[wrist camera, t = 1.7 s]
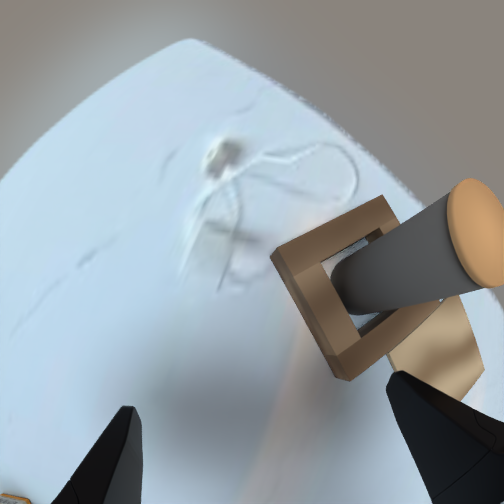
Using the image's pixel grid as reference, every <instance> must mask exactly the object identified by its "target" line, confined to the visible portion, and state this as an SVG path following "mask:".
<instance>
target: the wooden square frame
mask: <svg viewBox="0 0 504 504" xmlns="http://www.w3.org/2000/svg"><path fill="white" fill-rule="evenodd" d="M399 225H400V223H399V221H398V219H397V218H396V216H395V214H394V212H393V211H392V209H391V208H390V206H389V204H388V203H387V201H386V199H385V198H384V196H383V195H380V196H378V197H376V198H374V199H372V200H370V201H368V202H366V203H365V204H363V205H361V206H359V207H357V208H355V209H353V210H351V211H349V212H347V213H345V214H343V215H341V216H339V217H337V218H335V219H333V220H331V221H329V222H327V223H325V224H323V225H321V226H319V227H317V228H315V229H313V230H311V231H309V232H307V233H305V234H303V235H301V236H299V237H297V238H295V239H293V240H291V241H289V242H287V243H285V244H283V245H281V246H279V247H277V248H276V250H275V251H274V252H273V253H272V255H271V256H270V258H271V260H272V262H273V264H274V266H275V267H276V269H277V271H278V273H279V275H280V276H281V278H282V280H283V282H284V284H285V285H286V287H287V289H288V291H289V293H290V294H291V296H292V298H293V300H294V302H295V304H296V305H297V307H298V309H299V311H300V313H301V314H302V316H303V318H304V320H305V322H306V324H307V325H308V327H309V329H310V331H311V333H312V335H313V336H314V338H315V340H316V342H317V344H318V346H319V347H320V349H321V351H322V353H323V355H324V357H325V359H326V360H327V362H328V364H329V366H330V368H331V370H332V371H333V373H334V375H335V377H336V378H339V379H343V380H346V381H352V380H353V379H354V378H356V377H357V376H358V375H360V374H361V373H362V372H364V371H365V370H366V369H367V368H369V367H370V366H371V365H373V364H374V363H375V362H376V361H378V360H379V359H380V358H381V357H383V356H384V355H385V354H386V353H387V352H389V351H390V350H391V349H392V348H393V347H395V346H396V345H397V344H398V343H399V342H400V341H401V340H403V339H404V338H405V337H406V336H407V335H408V334H409V333H410V332H412V331H413V330H414V329H415V328H416V327H417V326H418V325H419V324H420V323H421V322H422V321H423V320H424V319H425V318H426V317H428V316H429V315H430V314H431V313H432V312H433V311H434V310H435V309H436V308H437V307H438V306H439V305H440V304H441V303H440V301H439V300H435V301H430V302H426V303H421V304H417V305H412V306H407V307H402V308H397V309H392V310H387V311H383V312H381V313H380V314H379V315H377V316H376V317H375V318H373V319H372V320H371V321H369V322H368V323H367V324H365V325H364V326H363V327H361V328H360V329H359V330H356V328H355V326H354V324H353V322H352V320H351V318H350V316H349V314H348V312H347V311H346V309H345V307H344V305H343V303H342V301H341V299H340V297H339V296H338V294H337V292H336V290H335V288H334V286H333V285H332V283H331V281H330V279H329V277H328V276H327V274H326V272H325V270H324V268H323V267H322V265H321V262H323V261H324V260H326V259H328V258H330V257H331V256H333V255H335V254H337V253H338V252H340V251H342V250H344V249H345V248H347V247H349V246H350V245H352V244H354V243H355V242H357V241H359V240H361V239H362V238H364V237H365V238H366V239H367V241H368V243H369V244H370V243H371V242H373V241H375V240H376V239H378V238H380V237H381V236H383V235H384V234H386V233H388V232H389V231H391V230H392V229H394V228H396V227H397V226H399Z"/></svg>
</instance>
